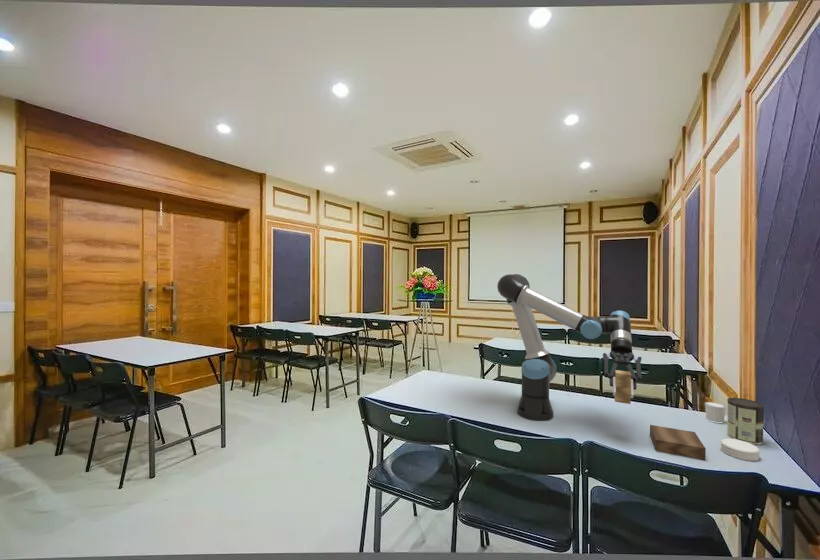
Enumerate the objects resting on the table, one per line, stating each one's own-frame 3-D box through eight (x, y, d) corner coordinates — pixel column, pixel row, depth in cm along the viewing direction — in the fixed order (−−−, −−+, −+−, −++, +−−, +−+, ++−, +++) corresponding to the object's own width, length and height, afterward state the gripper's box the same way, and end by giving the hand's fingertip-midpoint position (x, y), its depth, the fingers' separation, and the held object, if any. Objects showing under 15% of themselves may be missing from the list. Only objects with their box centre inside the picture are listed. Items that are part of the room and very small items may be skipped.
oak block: (615, 401, 136) (615, 373, 136) (614, 397, 140) (615, 369, 140) (630, 404, 134) (631, 375, 133) (629, 399, 138) (630, 371, 138)
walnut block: (655, 450, 127) (655, 439, 127) (649, 434, 140) (650, 424, 140) (705, 460, 121) (705, 448, 121) (694, 442, 133) (694, 432, 133)
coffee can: (750, 433, 141) (751, 398, 141) (770, 446, 131) (771, 408, 131) (720, 431, 143) (720, 396, 143) (738, 443, 133) (739, 406, 133)
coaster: (713, 449, 129) (713, 439, 129) (734, 446, 131) (734, 436, 131) (744, 463, 119) (745, 453, 119) (767, 460, 122) (767, 449, 122)
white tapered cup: (703, 420, 153) (704, 404, 153) (705, 416, 158) (705, 400, 158) (725, 425, 149) (725, 408, 148) (725, 420, 154) (726, 404, 154)
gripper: (646, 351, 146) (650, 404, 132) (596, 346, 154) (595, 395, 140) (648, 340, 141) (653, 394, 127) (596, 336, 149) (596, 386, 135)
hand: (623, 395), depth 134 cm, fingers closed on oak block, 5 cm apart
